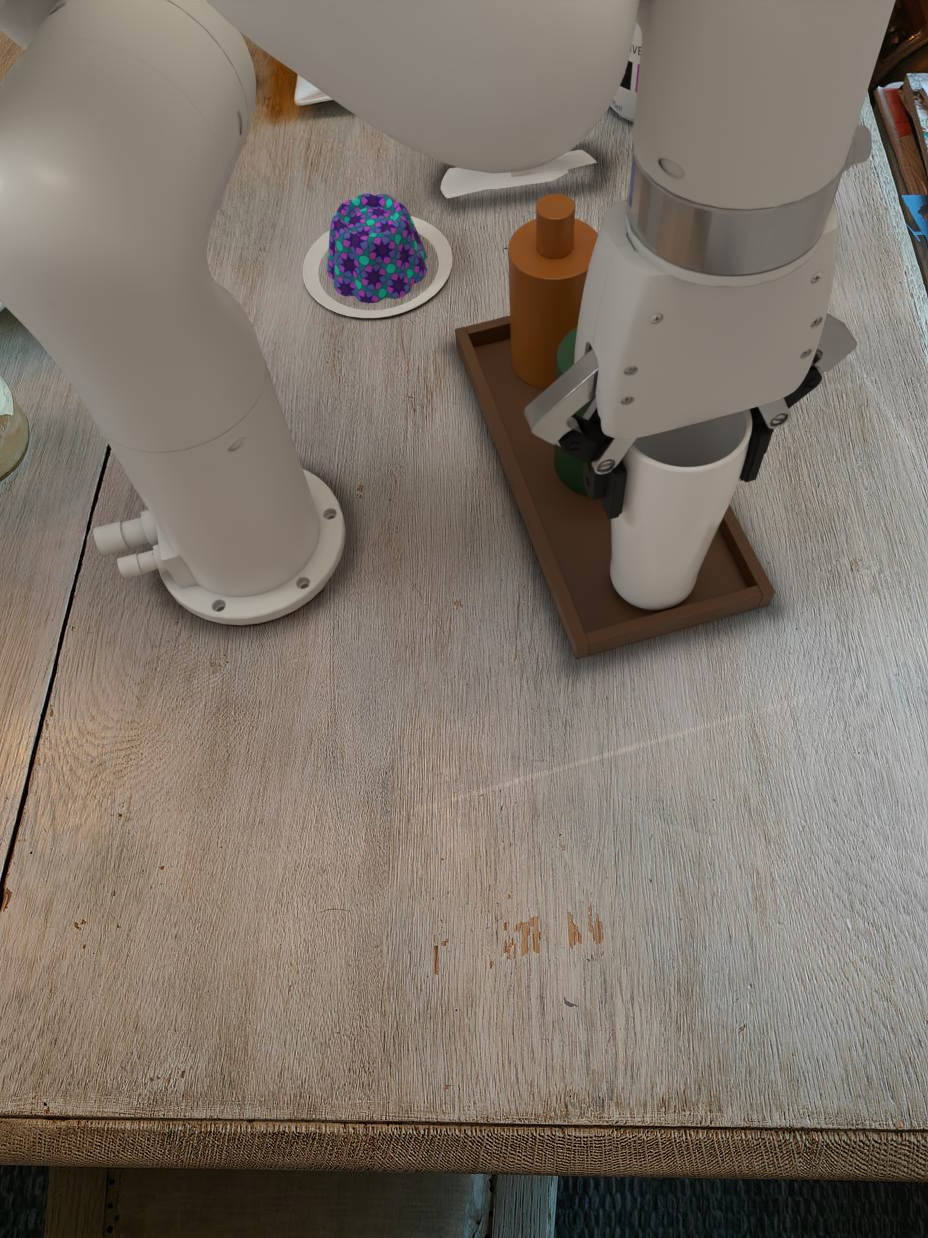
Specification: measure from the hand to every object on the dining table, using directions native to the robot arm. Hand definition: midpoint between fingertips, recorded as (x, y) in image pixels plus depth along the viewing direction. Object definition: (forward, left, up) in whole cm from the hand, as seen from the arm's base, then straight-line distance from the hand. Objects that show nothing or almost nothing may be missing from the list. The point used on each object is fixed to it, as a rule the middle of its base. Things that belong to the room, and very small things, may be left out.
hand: (671, 477), depth 51 cm
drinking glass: (0, 0, -10) cm, 10 cm away
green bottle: (0, +10, -11) cm, 15 cm away
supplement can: (+18, +47, -11) cm, 52 cm away
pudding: (-10, +34, -11) cm, 37 cm away
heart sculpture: (+4, +41, -11) cm, 43 cm away
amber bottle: (0, +20, -11) cm, 23 cm away
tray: (0, +10, -11) cm, 15 cm away
